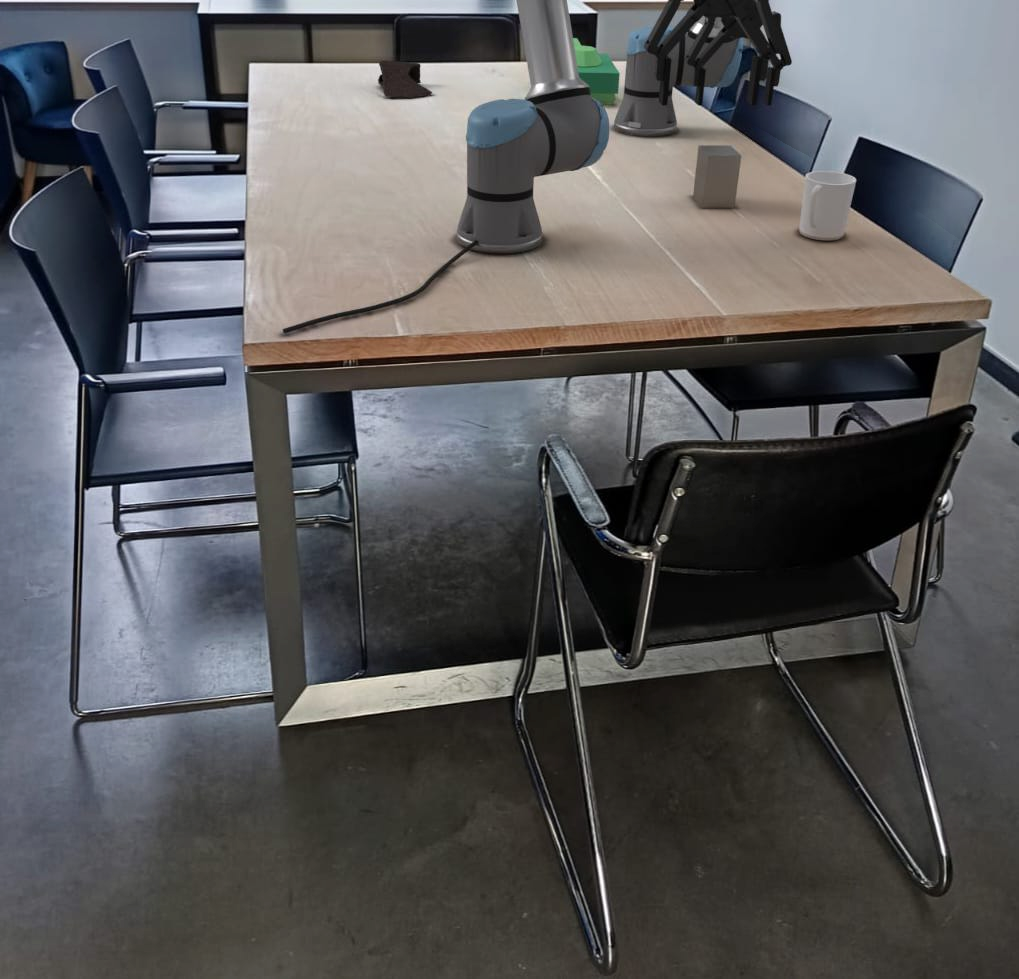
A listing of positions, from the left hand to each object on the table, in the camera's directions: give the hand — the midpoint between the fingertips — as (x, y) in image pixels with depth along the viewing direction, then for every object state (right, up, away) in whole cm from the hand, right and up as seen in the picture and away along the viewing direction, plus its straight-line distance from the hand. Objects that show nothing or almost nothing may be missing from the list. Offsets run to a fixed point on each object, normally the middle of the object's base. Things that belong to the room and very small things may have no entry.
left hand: (707, 103), depth 164 cm
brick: (+11, 0, +54) cm, 55 cm away
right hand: (+13, +17, +47) cm, 52 cm away
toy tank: (-11, +52, +139) cm, 149 cm away
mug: (+27, -11, +38) cm, 48 cm away
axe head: (-59, +52, +136) cm, 157 cm away
